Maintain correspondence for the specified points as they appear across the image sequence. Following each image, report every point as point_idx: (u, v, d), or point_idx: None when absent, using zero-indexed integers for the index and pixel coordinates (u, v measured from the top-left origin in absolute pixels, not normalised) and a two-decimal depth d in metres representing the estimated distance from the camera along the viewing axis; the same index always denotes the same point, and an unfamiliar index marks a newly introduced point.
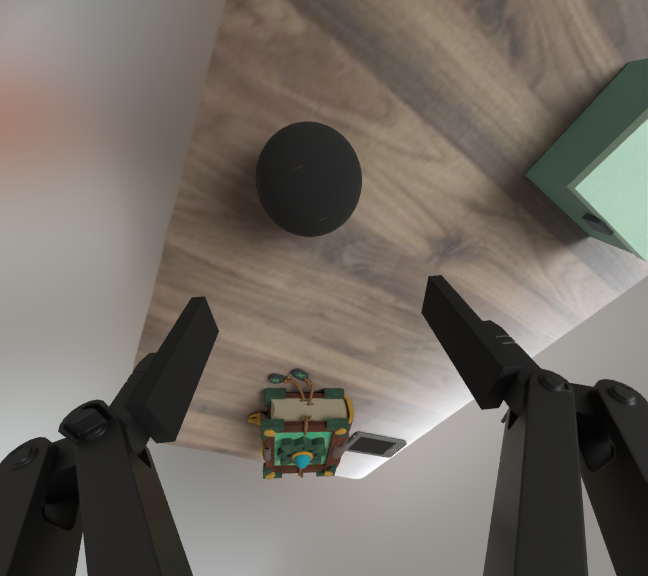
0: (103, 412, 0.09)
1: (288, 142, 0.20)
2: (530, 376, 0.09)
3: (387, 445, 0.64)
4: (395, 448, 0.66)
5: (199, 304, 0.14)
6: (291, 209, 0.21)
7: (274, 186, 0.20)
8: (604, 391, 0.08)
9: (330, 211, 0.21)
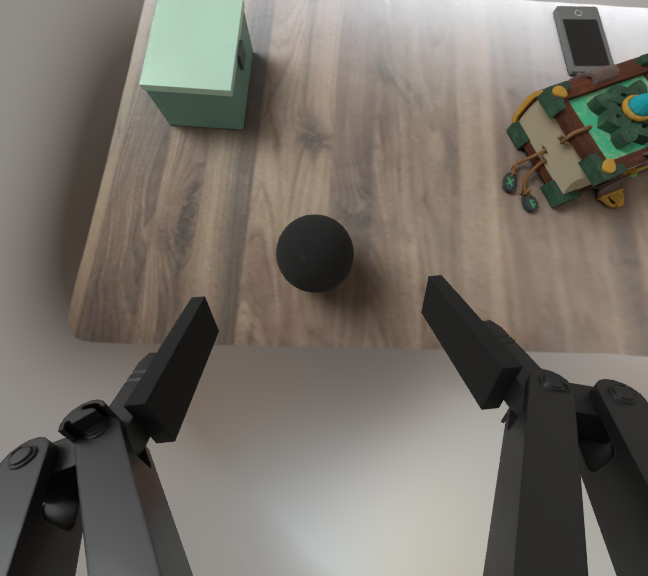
0: (103, 412, 0.09)
1: (293, 271, 0.29)
2: (530, 376, 0.09)
3: (572, 25, 0.47)
4: (573, 12, 0.47)
5: (199, 304, 0.14)
6: (330, 249, 0.28)
7: (322, 267, 0.28)
8: (604, 391, 0.08)
9: (318, 224, 0.29)
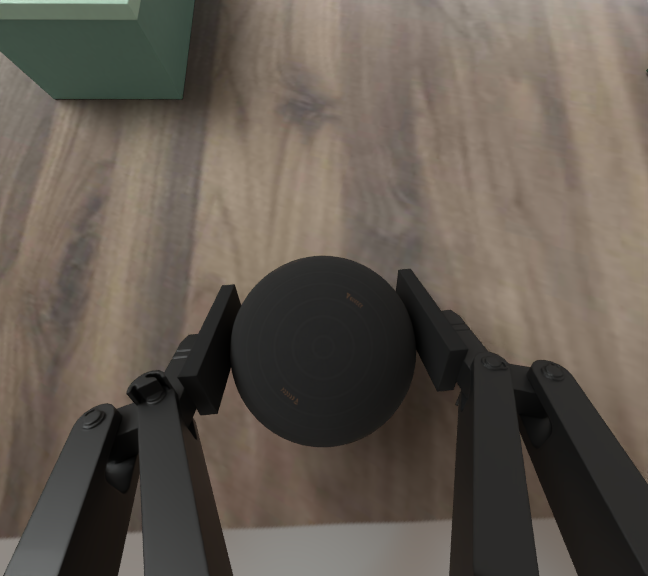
0: (161, 382, 0.09)
1: (269, 423, 0.11)
2: (474, 359, 0.10)
3: None
4: None
5: (230, 291, 0.14)
6: (368, 368, 0.10)
7: (347, 419, 0.10)
8: (538, 372, 0.09)
9: (330, 294, 0.10)
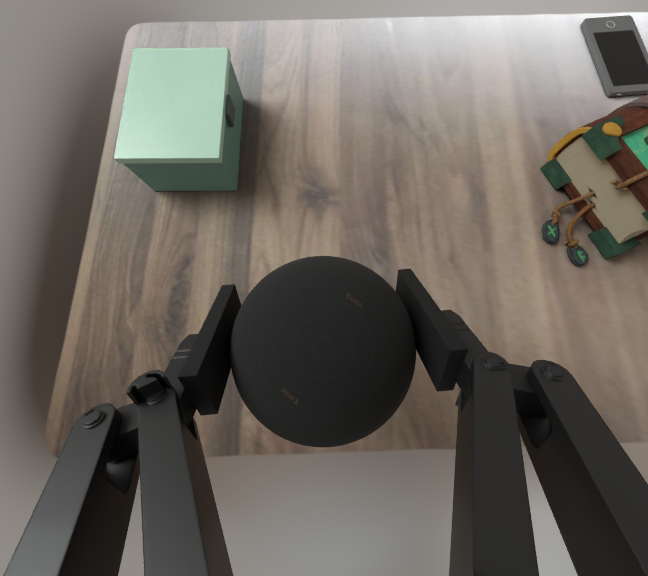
0: (162, 382, 0.09)
1: (270, 423, 0.11)
2: (474, 359, 0.10)
3: (605, 39, 0.41)
4: (605, 24, 0.41)
5: (230, 291, 0.14)
6: (368, 368, 0.10)
7: (347, 419, 0.10)
8: (538, 372, 0.09)
9: (330, 294, 0.10)
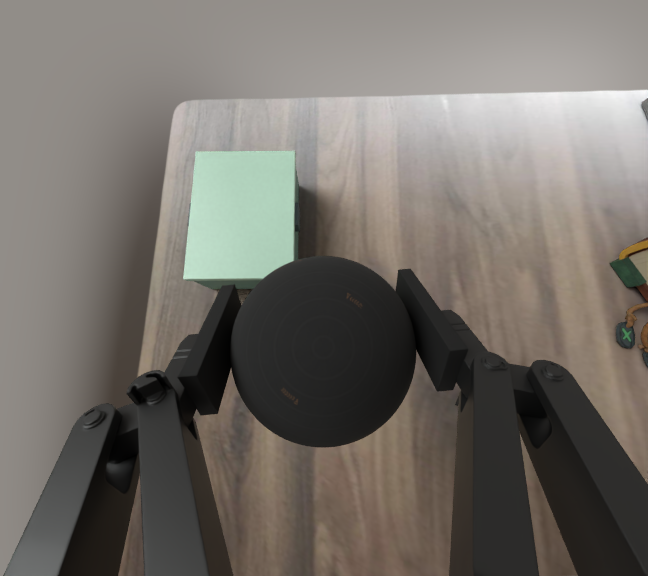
0: (162, 382, 0.09)
1: (270, 423, 0.11)
2: (474, 359, 0.10)
3: None
4: None
5: (230, 291, 0.14)
6: (368, 368, 0.10)
7: (347, 419, 0.10)
8: (538, 372, 0.09)
9: (330, 294, 0.10)
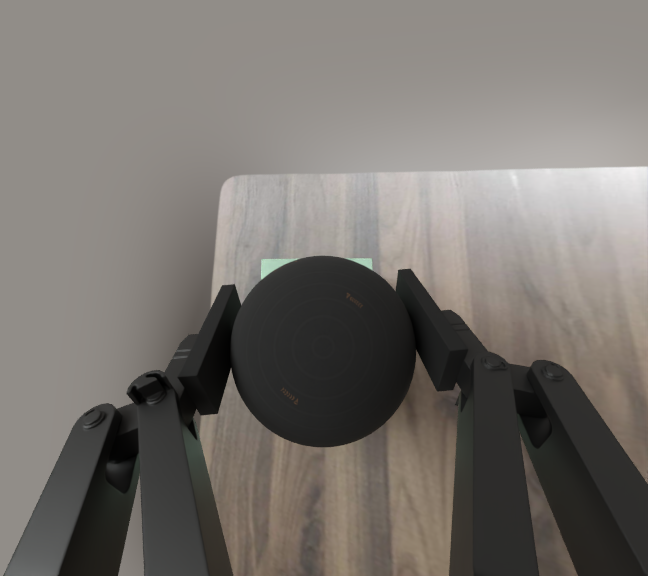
0: (162, 382, 0.09)
1: (269, 423, 0.11)
2: (474, 359, 0.10)
3: None
4: None
5: (230, 291, 0.14)
6: (368, 367, 0.10)
7: (347, 419, 0.10)
8: (538, 372, 0.09)
9: (330, 294, 0.10)
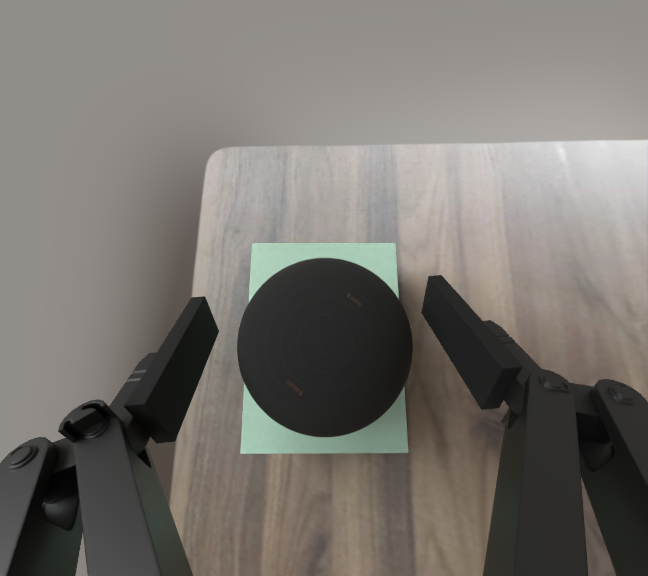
0: (103, 412, 0.09)
1: (275, 414, 0.12)
2: (530, 376, 0.09)
3: None
4: None
5: (199, 304, 0.14)
6: (367, 362, 0.10)
7: (347, 410, 0.11)
8: (604, 391, 0.08)
9: (332, 294, 0.11)
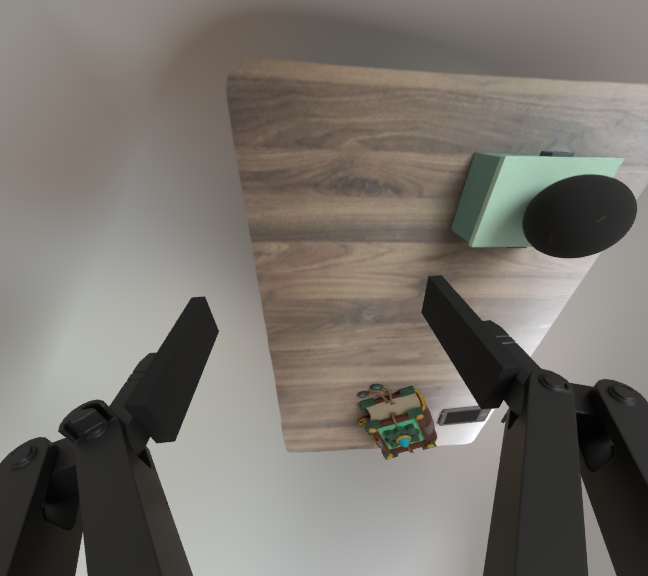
0: (103, 412, 0.09)
1: (582, 206, 0.27)
2: (530, 376, 0.09)
3: (475, 412, 0.78)
4: (484, 413, 0.78)
5: (199, 304, 0.14)
6: (593, 246, 0.29)
7: (576, 237, 0.28)
8: (604, 391, 0.08)
9: (625, 233, 0.28)
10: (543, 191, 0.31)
